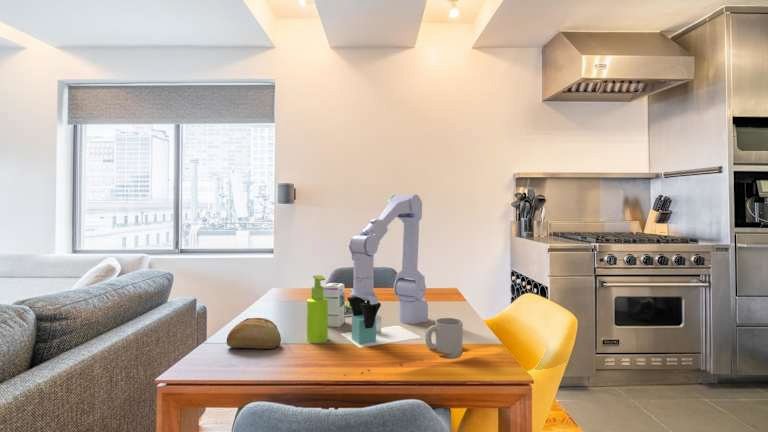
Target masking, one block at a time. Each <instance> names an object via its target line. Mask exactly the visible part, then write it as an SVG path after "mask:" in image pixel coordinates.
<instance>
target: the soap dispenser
mask: <svg viewBox="0 0 768 432" xmlns="http://www.w3.org/2000/svg"><path fill="white" fill-rule="evenodd" d="M312 278H313V279H314V285H313V286H311V297H310V298H307V300H306V341H307V343H310V344H322V343H325V342H327V341H328V339H329V333H328V332H329V330H328V329H329V326H328V299H327V298H323V292H324V288H323V286H322V284H321V281H326V278H325V277H324V276H323V275H321V274H319V275H318V274H317V275H312Z"/></svg>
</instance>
